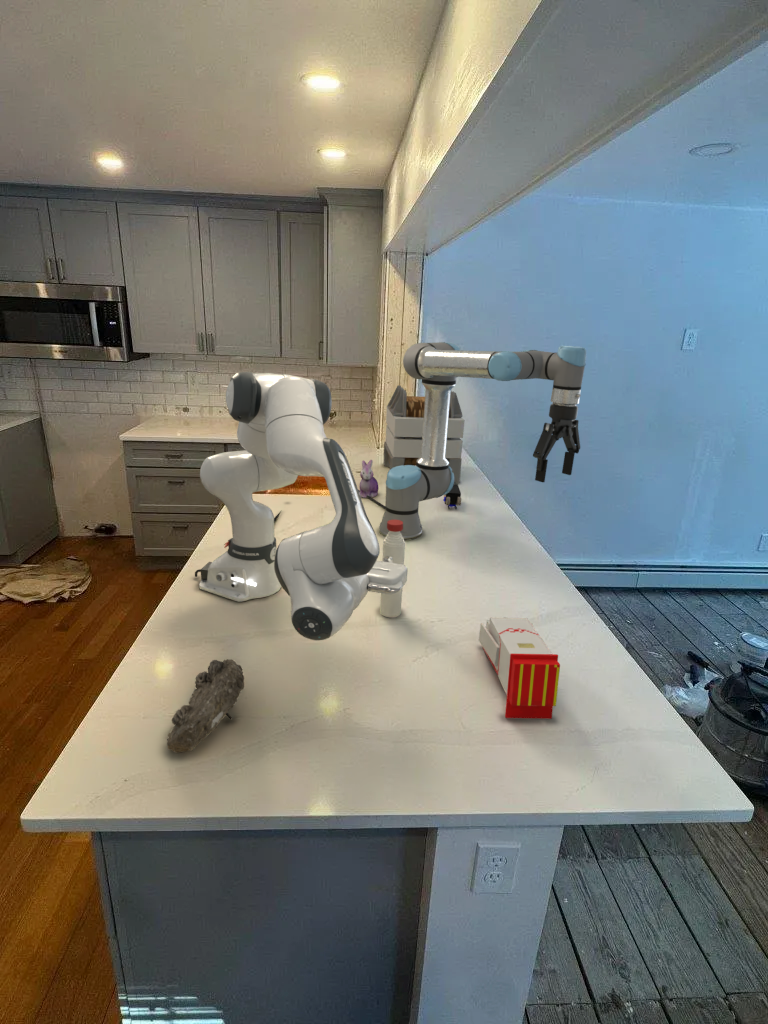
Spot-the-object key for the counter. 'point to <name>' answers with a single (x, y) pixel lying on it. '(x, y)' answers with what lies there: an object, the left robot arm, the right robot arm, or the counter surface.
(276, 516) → the feather
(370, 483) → the figurine
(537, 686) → the toy
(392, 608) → the bottle
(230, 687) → the fossil
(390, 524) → the cap
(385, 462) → the grey slatted box
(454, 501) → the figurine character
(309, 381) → the left robot arm
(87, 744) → the counter surface
